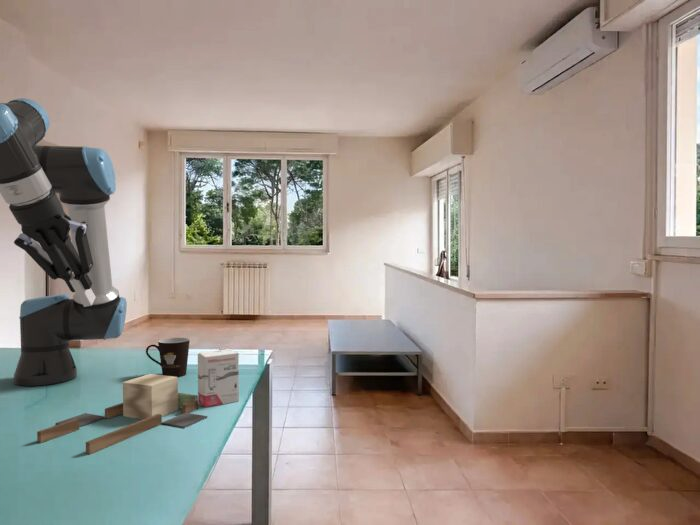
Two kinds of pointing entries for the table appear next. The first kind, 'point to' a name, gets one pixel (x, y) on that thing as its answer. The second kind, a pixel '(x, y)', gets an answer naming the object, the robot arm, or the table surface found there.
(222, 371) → the ink box
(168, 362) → the coffee mug
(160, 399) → the beech block
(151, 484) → the table surface
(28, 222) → the robot arm
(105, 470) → the table surface
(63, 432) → the channel
